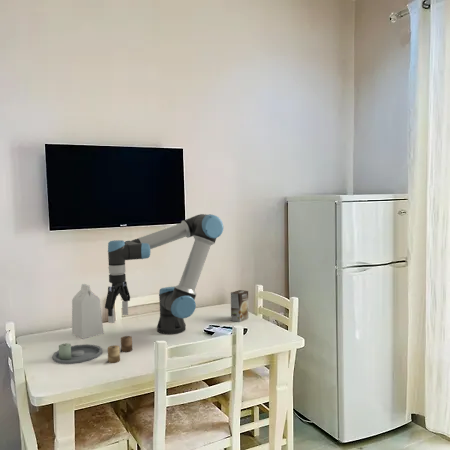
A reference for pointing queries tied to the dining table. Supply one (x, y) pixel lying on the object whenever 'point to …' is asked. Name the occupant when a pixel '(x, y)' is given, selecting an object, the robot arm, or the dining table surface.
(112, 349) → the bead
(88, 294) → the milk
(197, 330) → the dining table surface
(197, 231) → the robot arm
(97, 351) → the tray
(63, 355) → the bead
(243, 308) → the coffee box
